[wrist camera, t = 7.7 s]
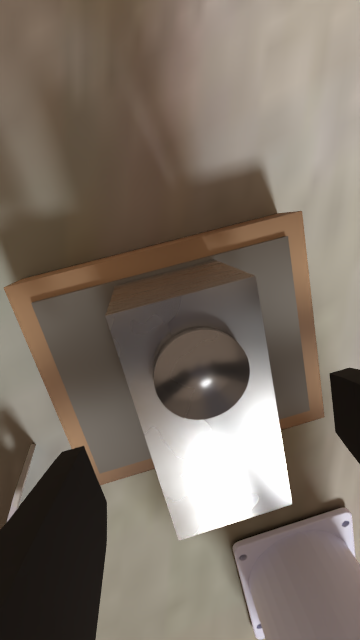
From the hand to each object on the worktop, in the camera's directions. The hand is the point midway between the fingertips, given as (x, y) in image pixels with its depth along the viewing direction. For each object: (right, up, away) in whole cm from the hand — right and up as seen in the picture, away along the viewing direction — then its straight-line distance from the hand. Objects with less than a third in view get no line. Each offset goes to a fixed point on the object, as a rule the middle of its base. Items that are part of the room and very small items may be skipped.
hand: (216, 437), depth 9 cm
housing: (-1, +2, +5) cm, 5 cm away
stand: (-1, +2, +7) cm, 7 cm away
